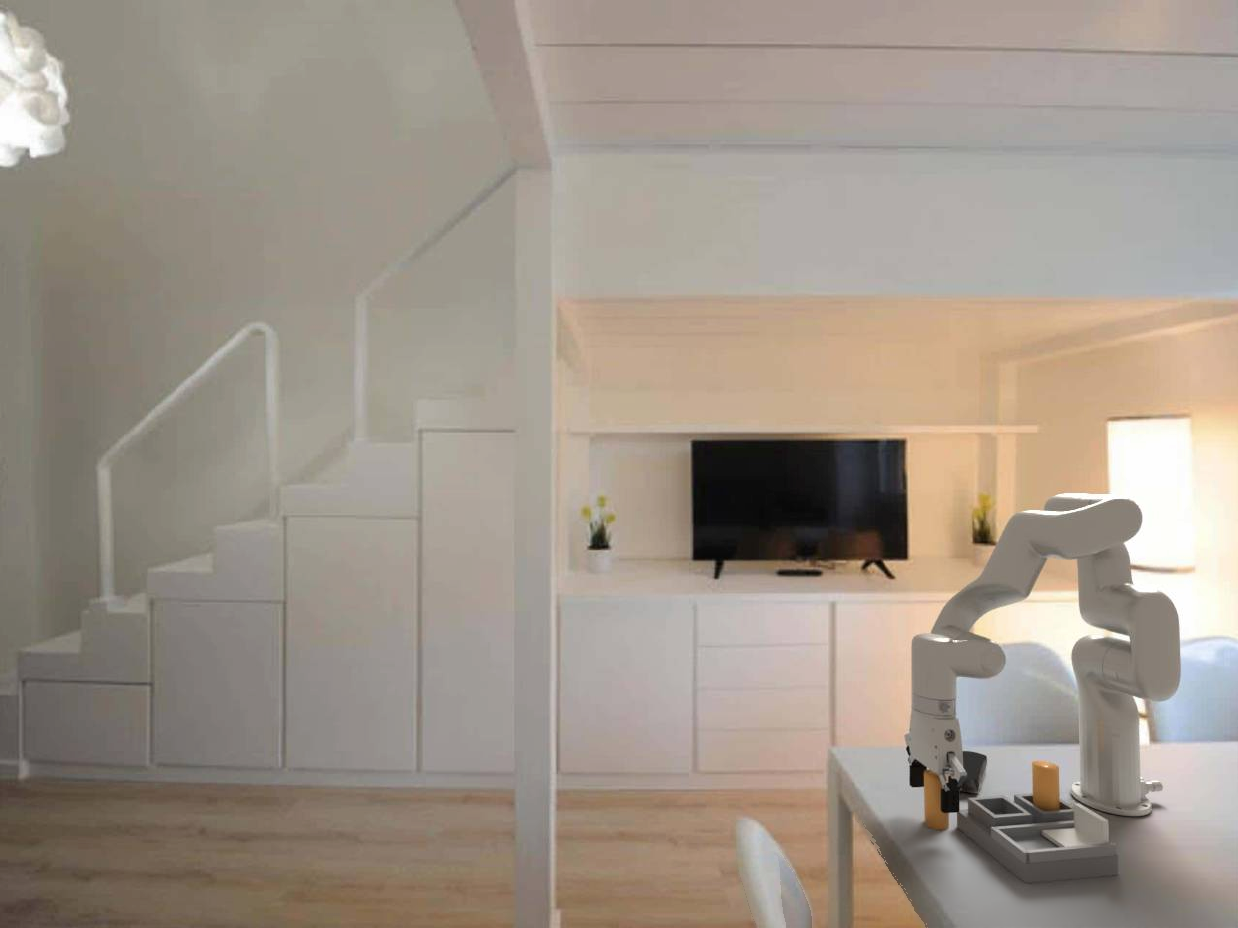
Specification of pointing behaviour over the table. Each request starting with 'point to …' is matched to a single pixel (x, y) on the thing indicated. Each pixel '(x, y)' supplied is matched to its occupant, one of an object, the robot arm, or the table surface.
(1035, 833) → the housing
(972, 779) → the black sponge
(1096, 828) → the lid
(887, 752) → the table surface
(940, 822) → the peg
